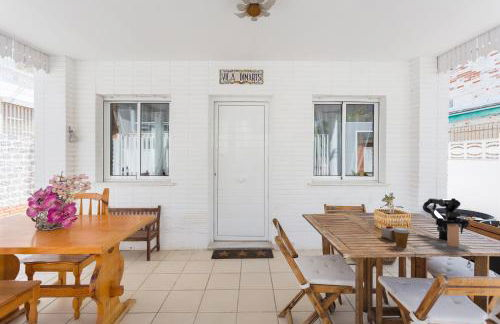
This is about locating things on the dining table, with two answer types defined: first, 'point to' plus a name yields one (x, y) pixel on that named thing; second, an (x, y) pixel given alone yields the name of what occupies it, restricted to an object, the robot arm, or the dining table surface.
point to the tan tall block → (453, 235)
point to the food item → (388, 233)
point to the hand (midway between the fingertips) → (453, 232)
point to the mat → (446, 245)
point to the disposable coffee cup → (401, 236)
